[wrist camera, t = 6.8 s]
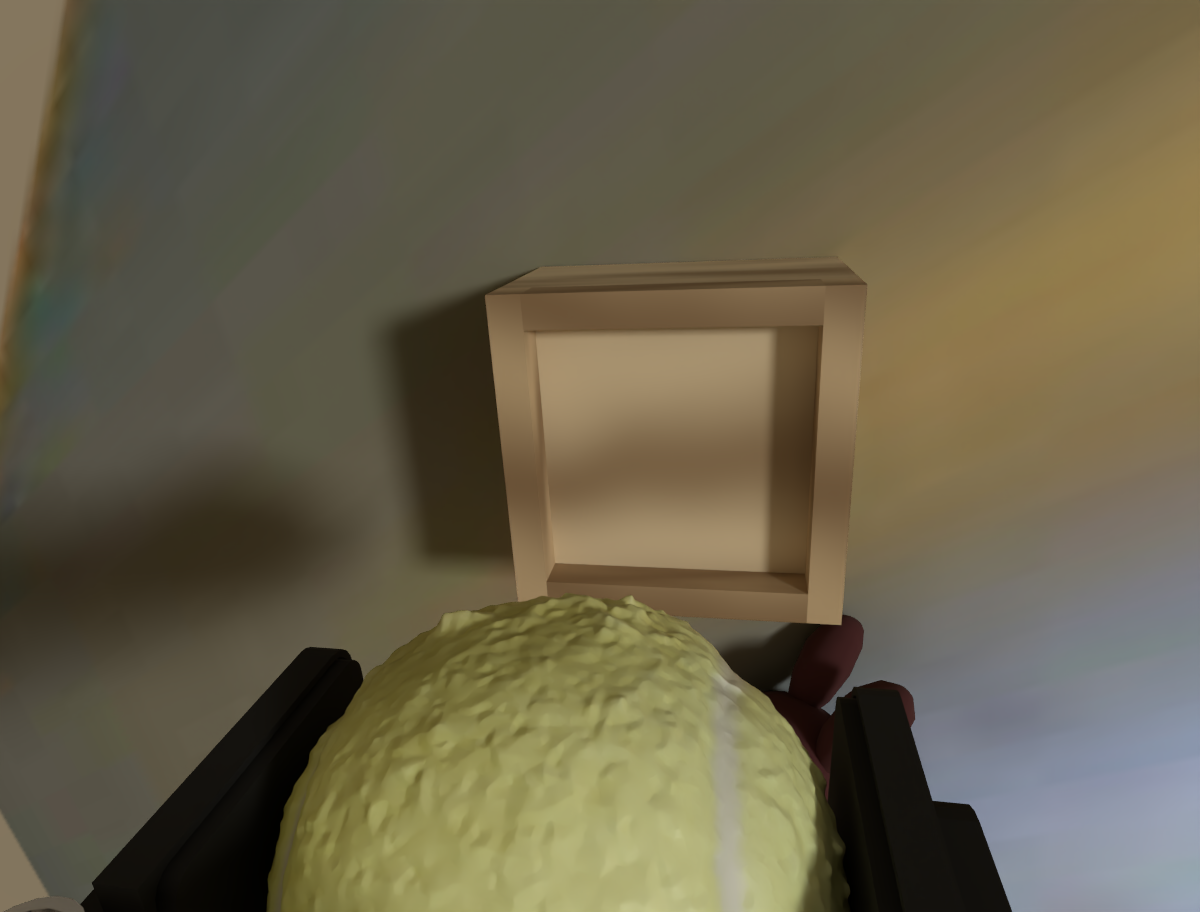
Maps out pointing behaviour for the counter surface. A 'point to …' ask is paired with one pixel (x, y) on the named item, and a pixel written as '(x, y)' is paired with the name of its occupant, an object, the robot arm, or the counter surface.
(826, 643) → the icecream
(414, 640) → the tennis ball
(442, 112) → the counter surface
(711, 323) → the wooden box
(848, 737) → the robot arm
